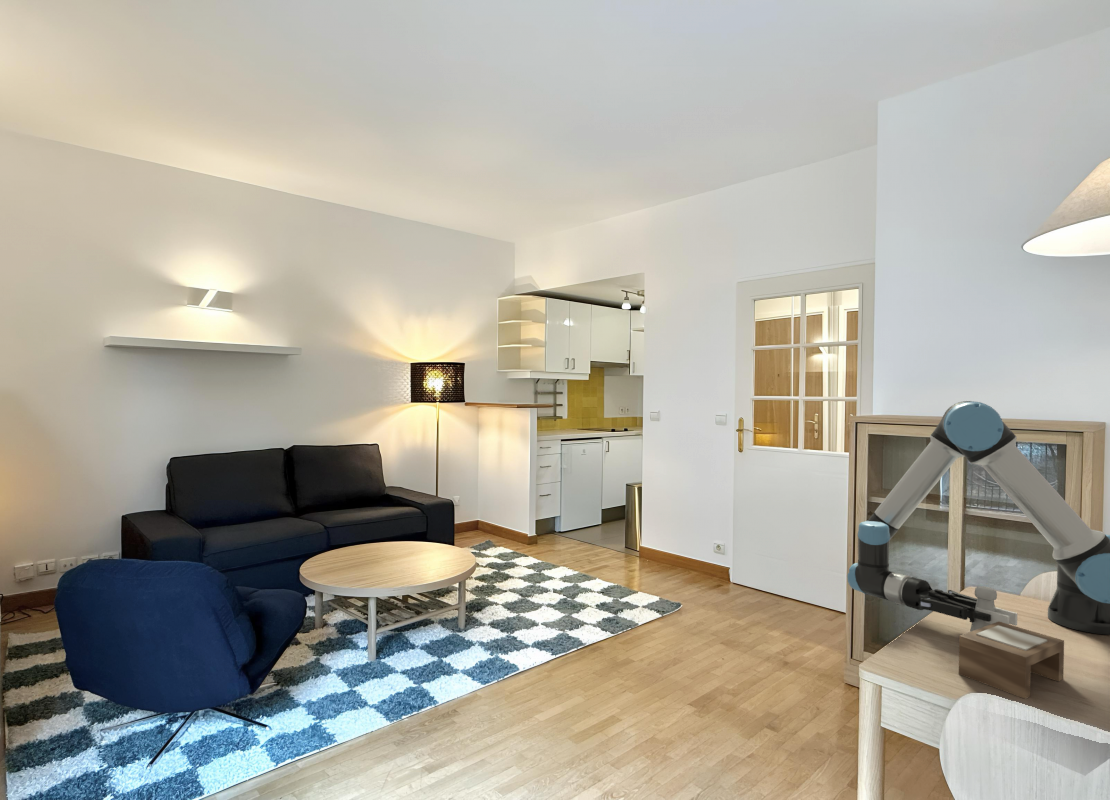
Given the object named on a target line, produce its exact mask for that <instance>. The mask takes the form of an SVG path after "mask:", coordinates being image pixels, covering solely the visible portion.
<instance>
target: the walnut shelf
mask: <svg viewBox="0 0 1110 800" xmlns="http://www.w3.org/2000/svg"><path fill="white" fill-rule="evenodd" d="M1064 657H1065V640H1063V639H1061V638H1058V637H1053V636H1050V635H1047V634H1043V633H1039V632H1036V631H1033V630H1029V629H1026V628H1024V627H1023V628H1022V627H1020V626H1017V625H1016V626H1015V625H1012V624H1006V623H1003V622H999V621H998V622H996V623H993V624H990V625H988V626H985V627H982V628H979V629H977V630H974V631H971V632H970V631H969V632H966V633H964V634H960V635H959V639H958V675H960V676H963V677H966V678H969V679H971V680H973V681H976V682H979V683H981V684H984V685H988V686H990V687H993V688H995V689H998V690H1000V691H1004V692H1006V693H1009V694H1010V695H1014V696H1016V697H1020V698H1022V699H1027V698H1030V697H1031V673H1033V674H1036V675H1038V676H1042V677H1044V678H1048V679H1051V680H1053V681H1056V682H1061V681H1063V680H1064V672H1065V671H1064V666H1065V665H1064V664H1065V663H1064V660H1065V658H1064Z"/></svg>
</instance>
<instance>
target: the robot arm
mask: <svg viewBox="0 0 1110 800" xmlns="http://www.w3.org/2000/svg"><path fill="white" fill-rule="evenodd" d="M929 438H930V442H929V443H928V445H926V446H925V448H924V449H923V450H922V452H921V453H920V454H919V456H917V458H916V459H915V460H914V461H913V463H912V464H911V465H910V467H909V468H908V469H907V471H906V472H905V473H904V474H903V476H901V477H900V480H899V481H898V482H897V483H896V484H895V486H894V487H893V488H892V489H891V491H890V492H889V493H888V494H887V496H886V497H885V498H884V499H883V500H882V502H881V503H880V504H879V506H878V507H877V508H875V510H874V512H873V513H872V514H871V516H870V517H869V518H868V520H865V521H861V522H860V523H858V531H857V548H858V549H857V554H858V555H857V558H858V559H857V562H855V563H853V564H851V566H850V567H849V568H848V572H847V575H846V577H847V582H848V585H849V586H850V588H852V590H854V591H856V592H860V593H862V594H864V595H869V596H872V597H875V598H879V599H883V600H886V601H889V602H893V603H895V605H896V606H900V605H903V606H906V607H908V608H911V609H914V610H918V611H923V610H925V611H931V612H935V613H938V614H942V615H946V616H949V617H954V618H956V619H961V620H963V621H967V620H968V619H969V622H970V623H972V622H974V618H976V620H977V619H980V620H983V621H985V622H986V623H990V624H993V623H996V622H998V621H999V622H1003V623H1006V624H1009V625H1013V626H1016V627H1017V626H1018V613H1017V612H1016V611H1015V612H1014V611H1011V610H1008V609H1003V608H1000V607H997V606H995V610H996V612H993V611H989V610H984V609H980V608H976V610H975V607H976V603H977V597H973V596H969V595H966V594H963V593H959V592H957V591H954V590H952V589H948V590H947V592H946V591H944V590H942V589H938V588H937V589H933V588H932V587H931V584H930V583H929V582H928V581H927V580H925V579H921V578H917V577H914V576H913V577H912V576H910V575H908V574H907V575H906V574H904V573H903V574H902V573H899V572H895V571H891V570H890V542H891V540H892V538H893V537H894V536H895V535H896V534H897V533H898V530H899V529H901V527H902V526H903V524H904V523H905V522H906V521H907V520H908V518H909V517H910V516H911V515H912V514H913V513H914V512H915V510H916V509H917V508H918V506H919V505H920V504H921V503H922V502H923V501H924V499H925V498H927V496H928V495H929V493H930V492H931V491H932V490H933V488H934V487H935V486H936V485H937V483H939V481H940V480H941V479H942V477H943V476H944V475H945V474H946V473H947V472H948V470H949V469H950V468H951V466H952V465H953V464H955V462H956V461H957V460H958V459H959V458H964V457H965V459H967V460H968V461H969V463H970V464H972V465H979V466H981V467H982V468H983V469H984V470H985V471H986V472H987V473H988V475H989V476H990V477H991V478H992V479H993V480H994V481H995V483H997V485H998V486H999V487H1000V489H1002V490H1003V492H1004V493H1005V494H1006V495H1007V496H1008V497H1009V498H1010V500H1011V501H1012V502H1013V503H1014V505H1016V507H1017V508H1018V509H1019V510H1020V511H1021V512H1022V514H1024V516H1025V517H1026V518H1027V519H1028V520H1029V521H1030V523H1032V524H1033V526H1034V527H1035V528H1036V530H1037V531H1038V532H1039V533H1040V534H1041V535H1042V536H1043V537H1044V539H1045V540H1046V541H1047V542H1048V543H1049V544H1050V545H1051V547H1053V551H1052V556H1051V557H1052V558H1053V559H1054V561H1056V564H1057V565H1056V569H1057V570H1056V589H1055V592H1054V594H1053V596H1052V598H1051V600H1050V602H1049V605H1048V607H1047V618H1048V619H1049V620H1050V621H1051V622H1053V623H1056V624H1058V625H1061V626H1063V627H1066V628H1069V629H1073V630H1077V631H1080V632H1084V633H1090V634H1095V635H1096V634H1097V635H1106V636H1107V635H1110V534H1106V533H1105V532H1103V531H1101V530H1096V529H1091V528H1090V526H1088V525H1087V523H1086V522H1085V521H1084V520H1083V519H1082V518H1081V517H1080V515H1079V514H1078V513H1077V512H1076V511H1075V510H1074V509H1073V508H1072V507H1071V505H1070V504H1069V503H1067V501H1066V500H1065V499H1064V497H1062V496H1061V495H1060V494H1059V492H1058V491H1057V490H1056V489H1055V488H1054V487H1053V485H1052V484H1050V482H1049V481H1048V480H1047V479H1046V478H1045V477H1044V475H1043V474H1041V473H1040V471H1039V470H1038V469H1037V468H1036V467H1035V466H1034V464H1032V463H1031V461H1030V460H1029V459H1028V458H1027V457H1026V456H1025V454H1023V452H1021V451H1020V449H1019V448H1018V447H1017V444H1016V443H1017V436H1016V434H1015V433H1014V432H1013V431H1012V430H1011V429H1010V427H1008V425H1007V424H1006V423H1004V421H1003V419H1002V418H1001V415H1000V414H999V413H998V411H997V410H995V408H993V407H992V406H990V405H989V404H987V403H983V402H981V401H972V400H968V401H967V400H966V401H965V400H964V401H959V402H956V403H954V404H953V405H951V406H949V407H948V408H947V410H945V412H944V413H943V415H942V417H941V420H939V423H938V424H937V425H936V427H935V428H934V430H933V431H932V433H931V434H930V435H929Z"/></svg>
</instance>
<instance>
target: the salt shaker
mask: <svg viewBox="0 0 1110 800" xmlns="http://www.w3.org/2000/svg"><path fill="white" fill-rule="evenodd" d="M974 596H975V598H977V603H976V607H975V610H976V608H980V609H984V610H989V611H993V612H996V610H995V607H996V606H995V601H996V600H997V597H998V592H997V590H996V589H994V588H992V587H989V586H985V585H984V586H977V587H975V589H974ZM988 625H990V623H986V622H985V621H983V620H980V619H977V620H976V618H974V622H971V625H970V630H969V632H971V631H974V630H977V629H979V628H982V627H985V626H988Z"/></svg>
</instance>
